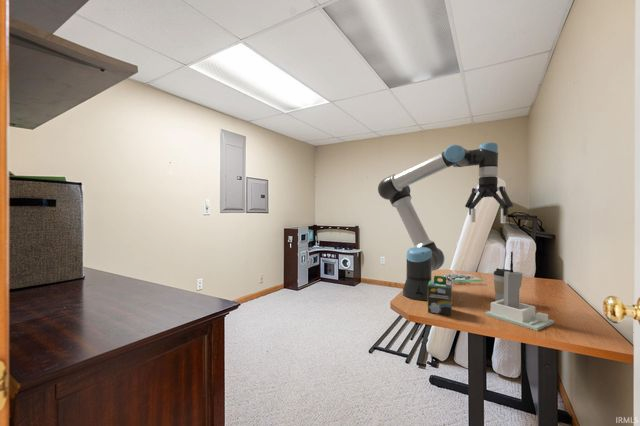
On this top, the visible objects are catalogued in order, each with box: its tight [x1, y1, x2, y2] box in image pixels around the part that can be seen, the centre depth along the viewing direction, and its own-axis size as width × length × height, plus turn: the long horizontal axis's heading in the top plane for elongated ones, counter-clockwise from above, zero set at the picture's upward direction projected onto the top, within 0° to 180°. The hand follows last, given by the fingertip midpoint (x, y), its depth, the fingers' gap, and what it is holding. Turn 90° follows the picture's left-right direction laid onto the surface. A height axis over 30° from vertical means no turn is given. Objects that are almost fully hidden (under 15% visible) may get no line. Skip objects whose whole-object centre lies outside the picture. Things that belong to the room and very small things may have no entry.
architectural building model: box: [484, 299, 555, 332], centre depth 111 cm, size 18×14×5 cm
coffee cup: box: [492, 268, 510, 301], centre depth 133 cm, size 9×9×15 cm
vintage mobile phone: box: [504, 251, 523, 309], centre depth 112 cm, size 4×5×25 cm
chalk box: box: [427, 275, 453, 317], centre depth 119 cm, size 9×9×15 cm
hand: (487, 222), depth 132 cm, fingers open, 13 cm apart
